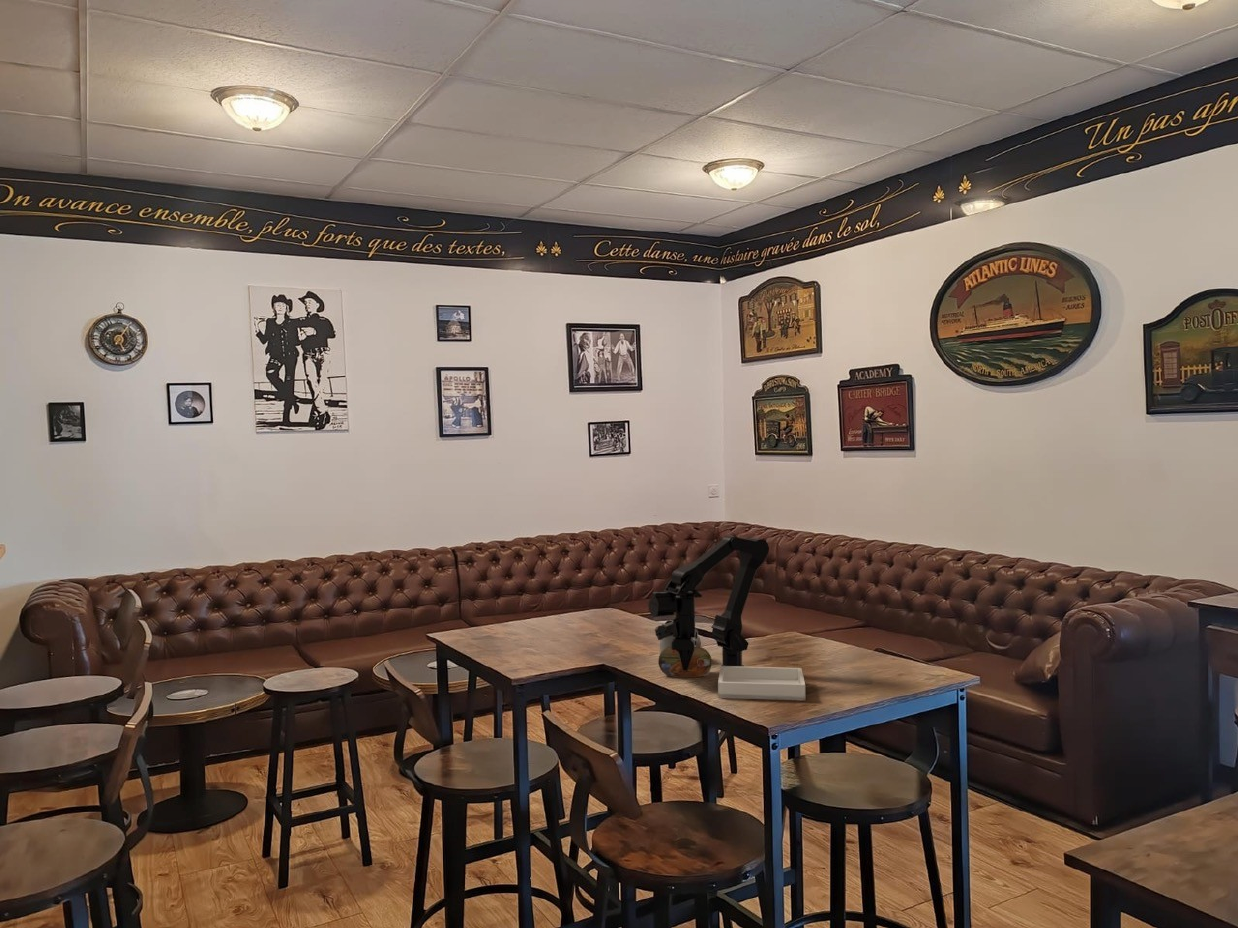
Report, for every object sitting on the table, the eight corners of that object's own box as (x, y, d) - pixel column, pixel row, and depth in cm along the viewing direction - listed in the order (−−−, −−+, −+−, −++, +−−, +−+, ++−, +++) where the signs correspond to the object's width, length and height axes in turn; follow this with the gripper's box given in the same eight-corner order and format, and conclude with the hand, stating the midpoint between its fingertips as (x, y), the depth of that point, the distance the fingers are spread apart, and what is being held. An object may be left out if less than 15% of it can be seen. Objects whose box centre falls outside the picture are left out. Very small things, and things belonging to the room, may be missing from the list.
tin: (658, 676, 255) (658, 646, 255) (659, 673, 258) (659, 644, 258) (711, 678, 253) (711, 648, 253) (712, 675, 256) (712, 645, 256)
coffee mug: (653, 658, 277) (653, 626, 277) (675, 653, 284) (675, 621, 284) (685, 665, 267) (684, 632, 267) (707, 660, 274) (707, 627, 274)
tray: (720, 680, 250) (720, 665, 250) (801, 682, 247) (801, 667, 247) (718, 697, 232) (718, 682, 232) (805, 700, 229) (805, 684, 229)
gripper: (659, 607, 266) (660, 660, 266) (653, 619, 247) (653, 676, 247) (697, 608, 264) (698, 661, 264) (693, 620, 245) (694, 677, 246)
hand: (685, 668), depth 255 cm, fingers closed on tin, 3 cm apart
